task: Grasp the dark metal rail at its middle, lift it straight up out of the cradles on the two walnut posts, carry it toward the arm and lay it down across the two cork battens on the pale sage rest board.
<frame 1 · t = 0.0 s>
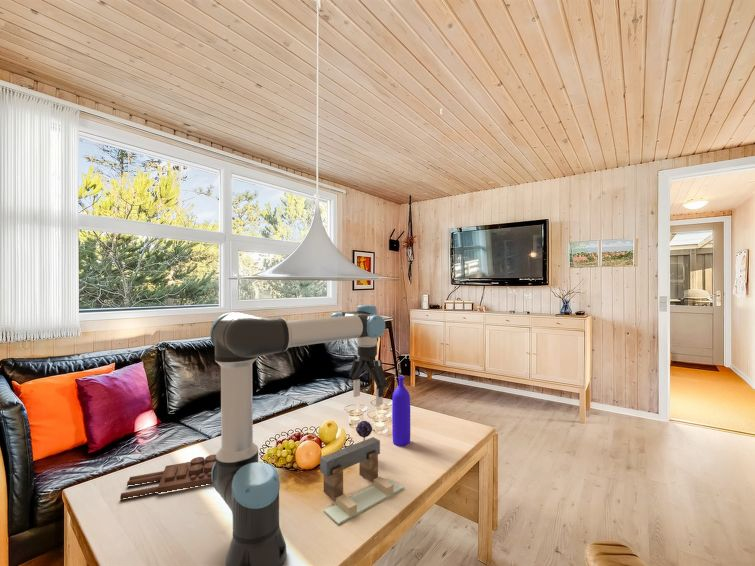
hand: (367, 400, 135), 28 cm above the table, fingers open, 13 cm apart
lollipop: (364, 457, 148), on the table
miniature factory model: (174, 482, 131), on the table
rest board: (365, 499, 119), on the table
bottle: (401, 442, 161), on the table
rail: (351, 462, 128), point 8 cm above the table, touching rack
rack: (351, 484, 128), on the table
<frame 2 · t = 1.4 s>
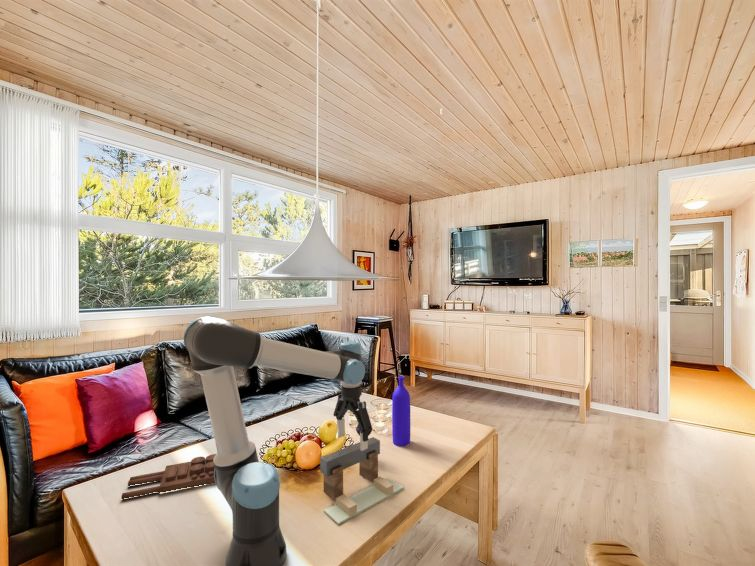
hand: (352, 442, 128), 15 cm above the table, fingers open, 13 cm apart
nothing on the table moved.
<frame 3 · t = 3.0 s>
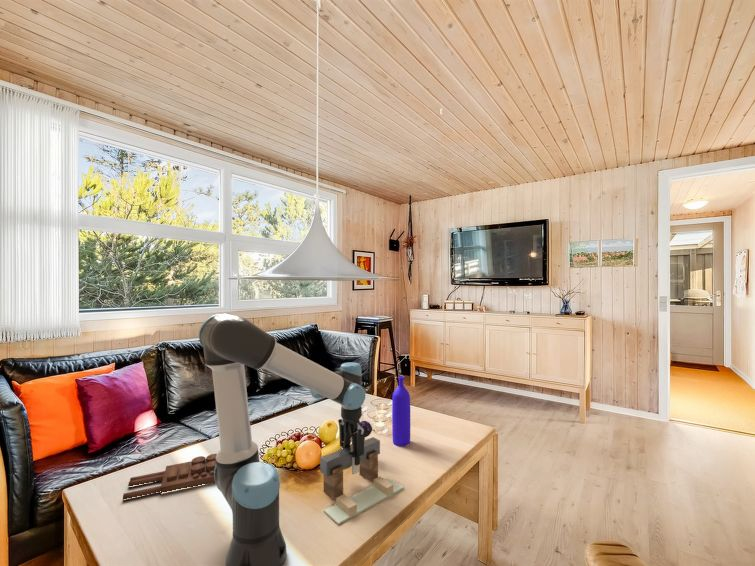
hand: (351, 470, 128), 5 cm above the table, fingers closed on rail, 4 cm apart
rail: (351, 462, 128), point 8 cm above the table, touching gripper, rack
everything else where it was.
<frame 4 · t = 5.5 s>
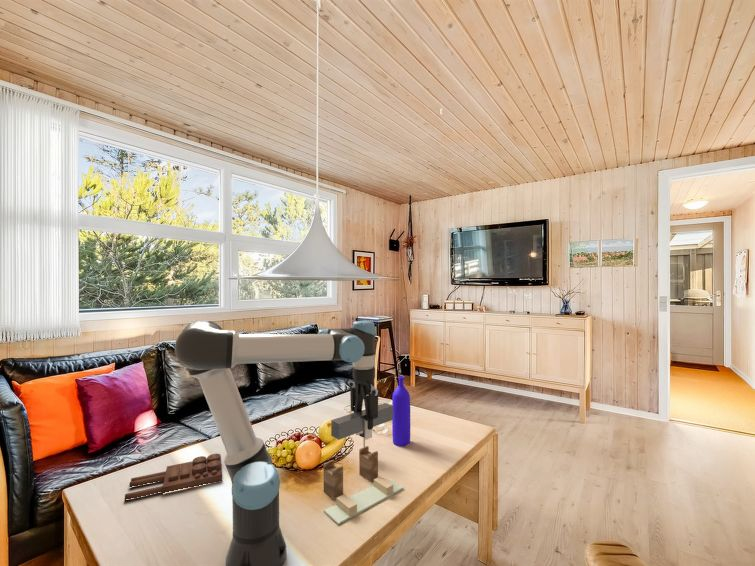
hand: (363, 435, 119), 21 cm above the table, fingers closed on rail, 4 cm apart
rail: (363, 427, 119), point 24 cm above the table, touching gripper
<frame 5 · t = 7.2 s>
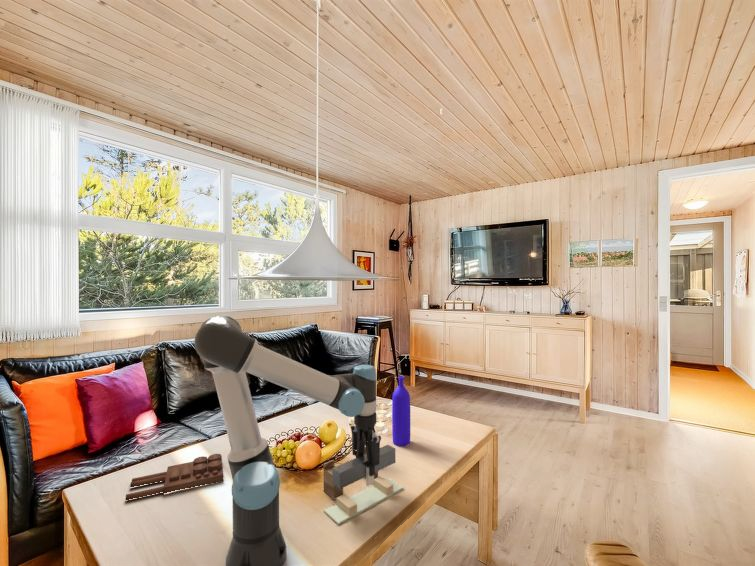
hand: (365, 481, 119), 6 cm above the table, fingers closed on rail, 4 cm apart
rail: (365, 472, 119), point 9 cm above the table, touching gripper
when the fingers open (2 cm above the table, at t = 8.3 s): rail drops 2 cm, resting on rest board.
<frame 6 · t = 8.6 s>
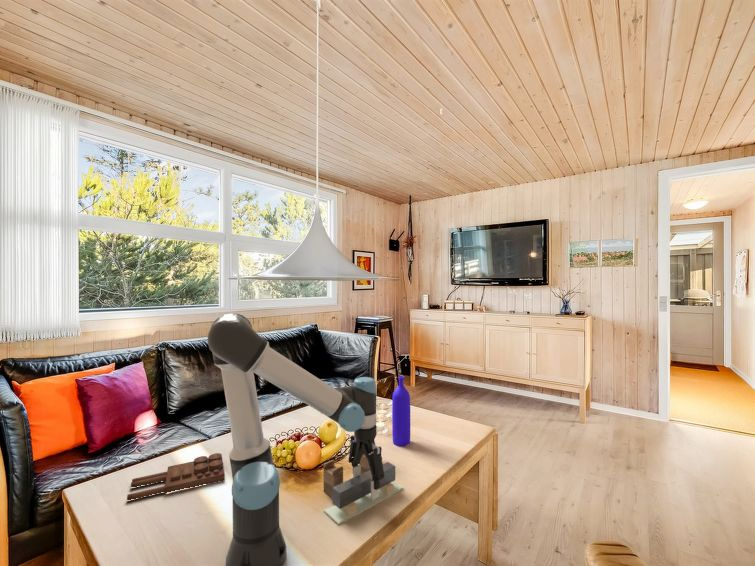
hand: (365, 491, 119), 3 cm above the table, fingers open, 9 cm apart
rail: (365, 491, 119), point 3 cm above the table, touching rest board
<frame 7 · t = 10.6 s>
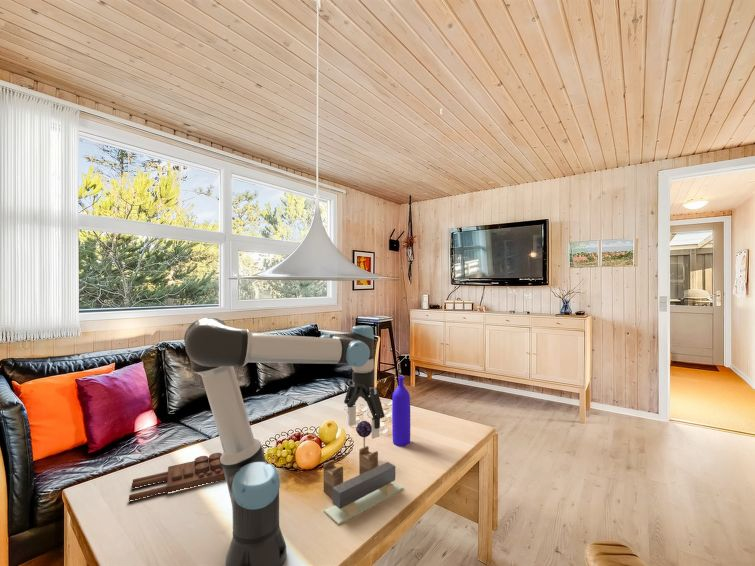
hand: (363, 430, 123), 21 cm above the table, fingers open, 13 cm apart
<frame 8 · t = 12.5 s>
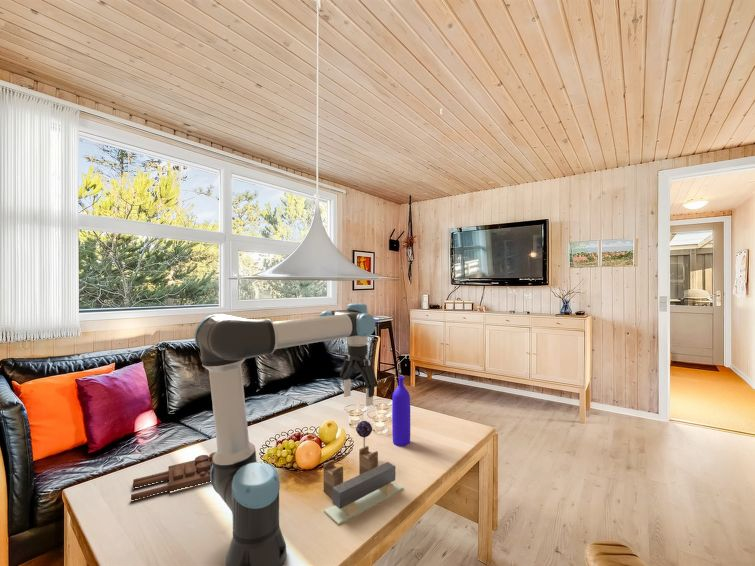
hand: (357, 400, 133), 29 cm above the table, fingers open, 13 cm apart
at the end: rail inside the target area on the rest board (0.0 cm from its centre), point 3.0 cm above the rest board's base; rail tilted 0°; the gripper is holding nothing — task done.
